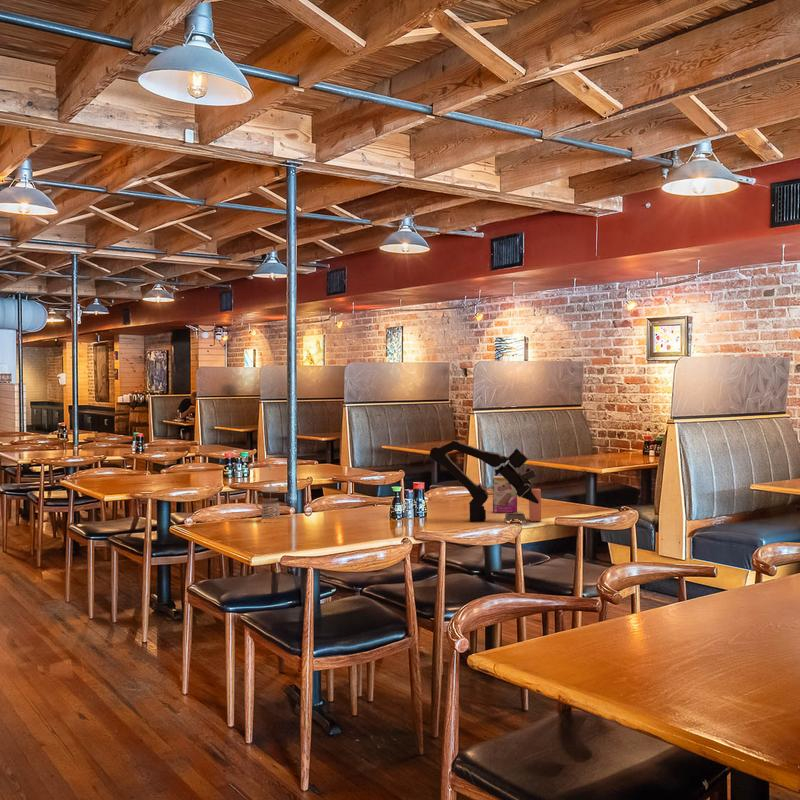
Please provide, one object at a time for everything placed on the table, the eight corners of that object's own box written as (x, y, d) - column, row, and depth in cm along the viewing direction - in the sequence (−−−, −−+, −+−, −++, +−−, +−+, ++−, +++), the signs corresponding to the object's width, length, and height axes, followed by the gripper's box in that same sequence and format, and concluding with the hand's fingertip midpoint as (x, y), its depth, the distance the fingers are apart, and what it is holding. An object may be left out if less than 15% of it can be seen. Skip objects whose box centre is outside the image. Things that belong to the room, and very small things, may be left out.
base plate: (506, 523, 350) (505, 516, 350) (504, 520, 358) (504, 513, 358) (526, 523, 349) (526, 516, 349) (524, 520, 358) (524, 513, 358)
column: (530, 520, 351) (530, 490, 351) (529, 519, 356) (528, 488, 356) (541, 520, 351) (540, 490, 351) (539, 519, 356) (539, 488, 355)
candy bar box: (492, 513, 380) (492, 477, 379) (492, 511, 384) (492, 476, 384) (517, 513, 378) (517, 477, 378) (517, 511, 383) (516, 475, 383)
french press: (280, 522, 364) (279, 465, 364) (253, 523, 364) (252, 465, 364) (283, 519, 374) (282, 463, 373) (257, 519, 374) (256, 464, 373)
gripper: (524, 464, 345) (551, 491, 343) (525, 460, 363) (551, 486, 361) (505, 483, 346) (532, 510, 344) (507, 478, 365) (533, 504, 363)
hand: (538, 502), depth 353 cm, fingers closed on column, 5 cm apart
